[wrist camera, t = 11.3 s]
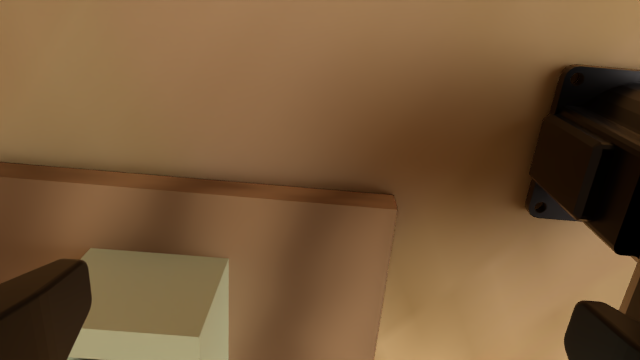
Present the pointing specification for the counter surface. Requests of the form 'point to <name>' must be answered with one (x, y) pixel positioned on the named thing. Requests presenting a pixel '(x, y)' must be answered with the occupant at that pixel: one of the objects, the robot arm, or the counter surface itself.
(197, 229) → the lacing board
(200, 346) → the square hollow cube
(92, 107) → the counter surface
